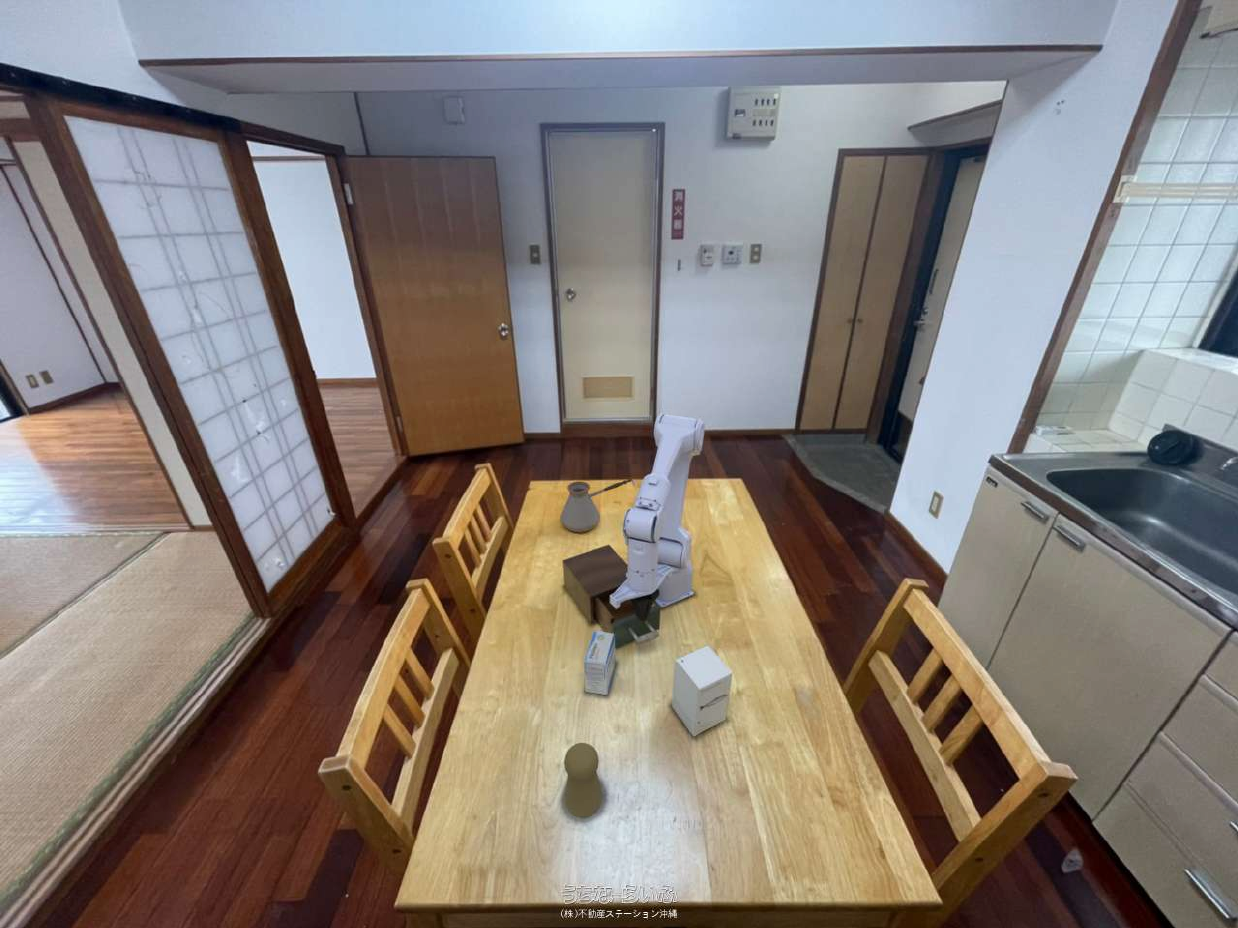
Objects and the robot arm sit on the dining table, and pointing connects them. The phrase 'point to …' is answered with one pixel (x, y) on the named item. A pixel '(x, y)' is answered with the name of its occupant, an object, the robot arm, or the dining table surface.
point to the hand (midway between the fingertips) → (641, 617)
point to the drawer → (626, 621)
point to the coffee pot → (582, 506)
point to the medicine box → (599, 663)
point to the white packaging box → (701, 689)
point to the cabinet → (593, 577)
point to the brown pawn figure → (582, 781)
